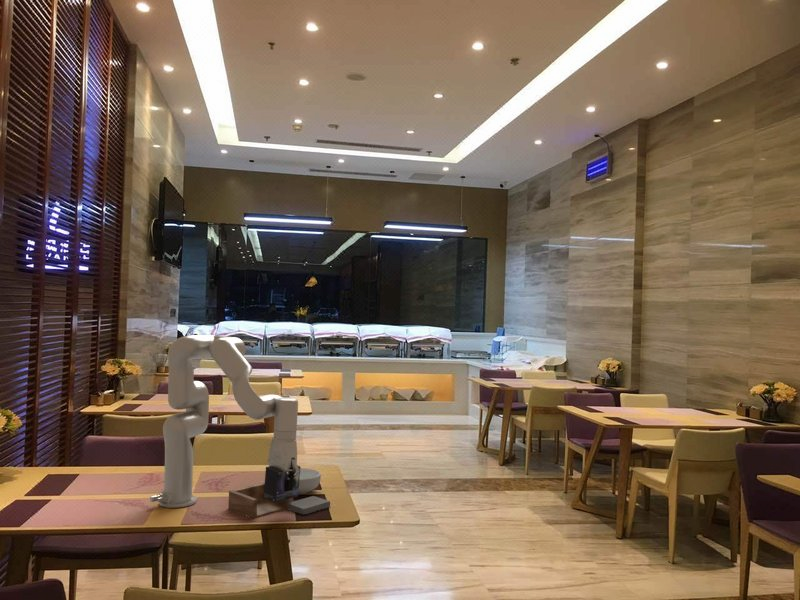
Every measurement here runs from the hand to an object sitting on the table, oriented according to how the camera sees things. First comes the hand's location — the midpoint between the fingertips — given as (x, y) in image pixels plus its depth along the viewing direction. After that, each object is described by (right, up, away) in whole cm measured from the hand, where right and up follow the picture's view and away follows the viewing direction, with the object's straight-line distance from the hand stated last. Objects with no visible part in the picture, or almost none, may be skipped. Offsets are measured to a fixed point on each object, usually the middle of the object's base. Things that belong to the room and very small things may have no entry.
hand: (281, 487), depth 203 cm
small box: (0, -4, 0) cm, 4 cm away
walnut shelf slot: (-9, -10, +8) cm, 15 cm away
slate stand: (+8, -10, +9) cm, 16 cm away
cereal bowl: (+1, -11, +29) cm, 31 cm away
